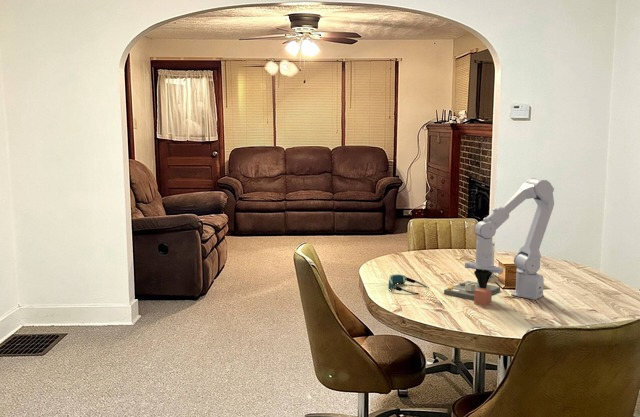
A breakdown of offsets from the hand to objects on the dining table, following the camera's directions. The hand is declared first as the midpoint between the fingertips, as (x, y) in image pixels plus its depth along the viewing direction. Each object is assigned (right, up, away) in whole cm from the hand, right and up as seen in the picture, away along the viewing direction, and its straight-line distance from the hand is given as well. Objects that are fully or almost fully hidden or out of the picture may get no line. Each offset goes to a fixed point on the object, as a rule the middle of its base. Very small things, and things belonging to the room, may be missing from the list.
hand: (482, 289), depth 227 cm
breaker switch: (+2, 0, +10) cm, 10 cm away
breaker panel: (-2, -2, +7) cm, 8 cm away
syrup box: (+10, +1, +33) cm, 35 cm away
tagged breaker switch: (-4, -1, +4) cm, 5 cm away
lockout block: (-2, -4, -7) cm, 8 cm away
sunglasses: (-26, -2, +13) cm, 29 cm away
